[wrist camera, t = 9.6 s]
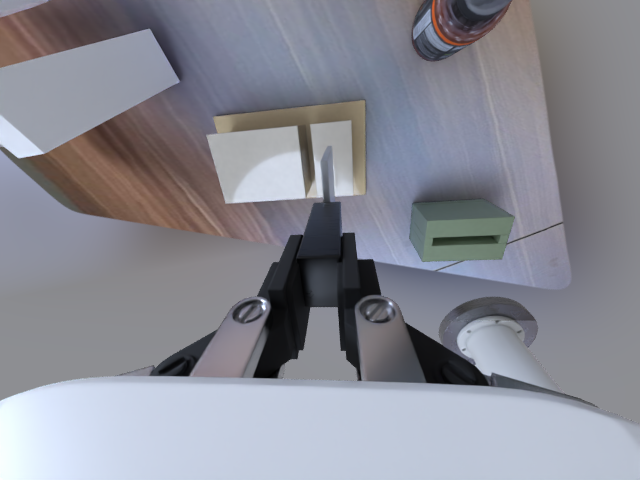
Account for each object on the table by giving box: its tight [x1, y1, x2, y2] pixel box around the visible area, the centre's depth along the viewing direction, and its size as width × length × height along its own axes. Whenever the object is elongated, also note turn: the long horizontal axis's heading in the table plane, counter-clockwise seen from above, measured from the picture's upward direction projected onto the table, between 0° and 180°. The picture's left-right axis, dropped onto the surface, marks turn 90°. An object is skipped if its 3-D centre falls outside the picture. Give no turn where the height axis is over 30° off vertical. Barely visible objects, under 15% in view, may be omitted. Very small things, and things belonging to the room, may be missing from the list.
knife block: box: [409, 199, 515, 262], centre depth 33 cm, size 10×6×7 cm, turn 95°
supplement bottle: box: [412, 0, 512, 61], centre depth 21 cm, size 6×6×11 cm
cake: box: [206, 100, 366, 204], centre depth 30 cm, size 12×20×8 cm, turn 95°
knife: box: [296, 146, 342, 307], centre depth 15 cm, size 7×2×13 cm, turn 5°
